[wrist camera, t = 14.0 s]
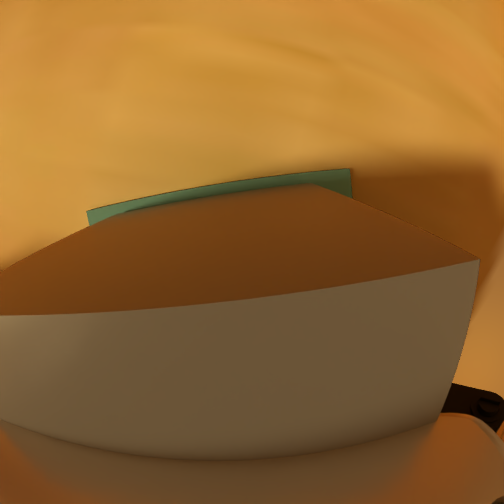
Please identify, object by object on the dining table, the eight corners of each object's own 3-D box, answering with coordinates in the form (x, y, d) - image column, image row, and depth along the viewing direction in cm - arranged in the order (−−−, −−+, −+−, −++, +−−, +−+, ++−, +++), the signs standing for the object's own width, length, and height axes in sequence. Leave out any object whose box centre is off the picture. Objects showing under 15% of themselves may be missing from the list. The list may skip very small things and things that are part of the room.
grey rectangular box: (116, 213, 11) (-66, 314, 2) (311, 182, 10) (480, 258, 2) (177, 403, 14) (139, 547, 5) (322, 390, 13) (359, 545, 5)
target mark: (88, 210, 11) (86, 211, 11) (348, 168, 11) (349, 168, 11) (154, 402, 14) (153, 404, 14) (350, 384, 14) (351, 387, 14)
